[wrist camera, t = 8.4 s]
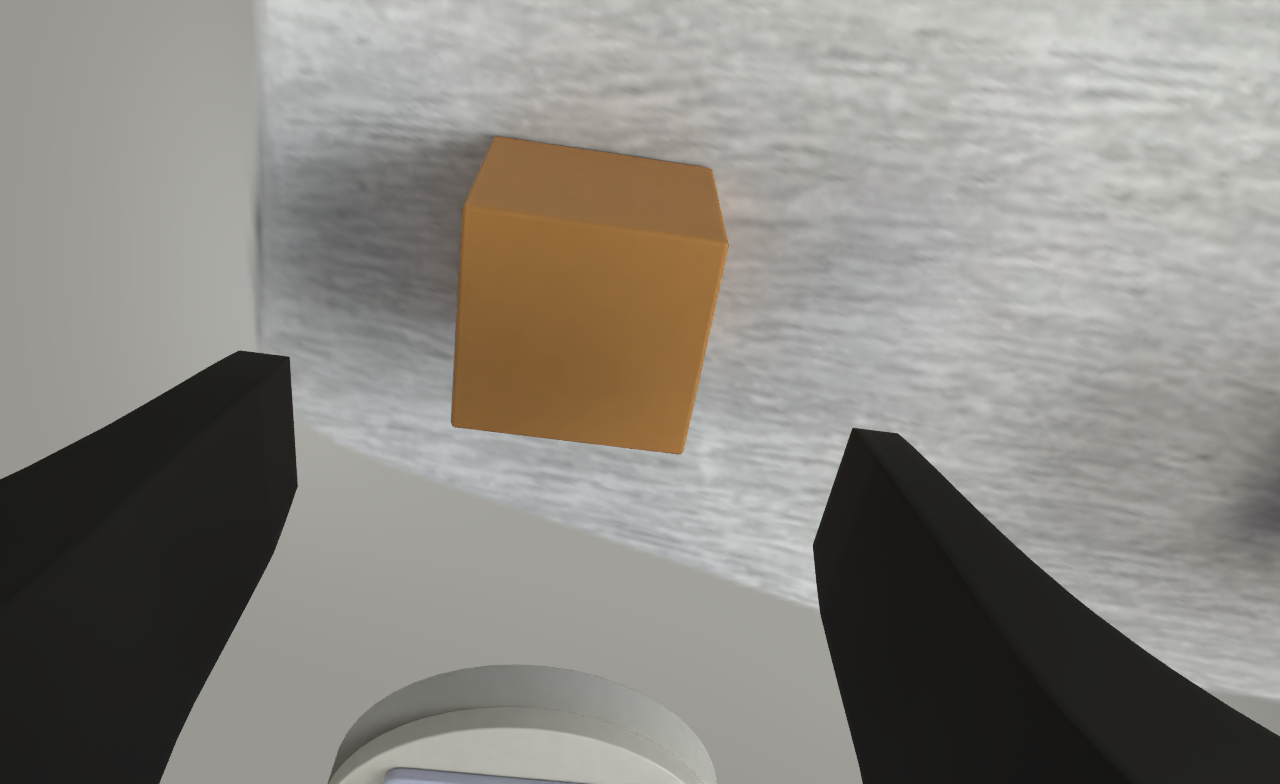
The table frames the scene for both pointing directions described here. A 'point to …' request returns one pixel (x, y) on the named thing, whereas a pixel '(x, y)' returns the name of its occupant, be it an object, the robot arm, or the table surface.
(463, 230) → the orange brown cube
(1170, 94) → the table surface
